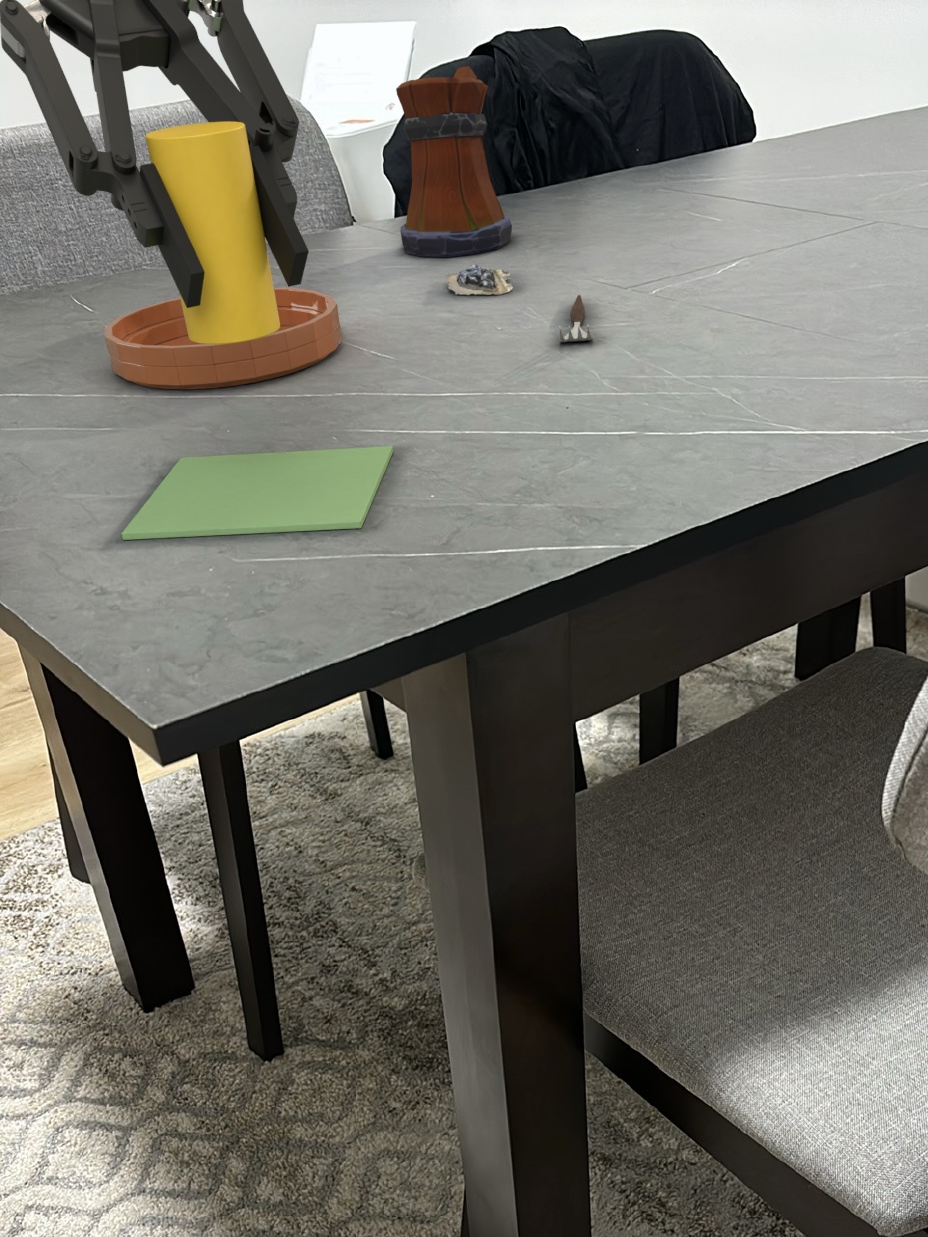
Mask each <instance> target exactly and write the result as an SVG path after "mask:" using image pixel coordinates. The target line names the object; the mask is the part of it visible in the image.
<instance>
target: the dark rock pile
mask: <svg viewBox="0 0 928 1237" xmlns="http://www.w3.org/2000/svg"><path fill="white" fill-rule="evenodd" d="M510 275H511V273H510V272H509V271H505V270H504V269H491V268H488V267H486V268H482V267H481V266H480V265H478V264H477V263H476V264H470V265H469V266H466V267H464V268H463V269H462V270H461V271H459V272H458V273H457V272H455V273H452V274H451V273H448V274H446V275H445V281H446V282H448V283H446V285H447V288H448V289H449V290H451V291H452V292H454V295H467V296H470V295H486V296H489V295H490V296H492V295H493V296H499V295H503V294H506V293H509V292H511V290H513V289H514V287H513V286H512V283H511V282H509V283H508V282H507V281H508V280H510V279H511V277H509V276H510Z"/></svg>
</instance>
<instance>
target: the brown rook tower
mask: <svg viewBox="0 0 928 1237" xmlns="http://www.w3.org/2000/svg"><path fill="white" fill-rule="evenodd" d="M488 89H489V85H487V84H486V83H484V82H483V81H482V80H481V79H478V76H477V75H476V74H475V72H474V71H473V70H472V68H471V66H462V67H458V68H457V69H456V71H455V73H454V75H453V77H445V76H444V77H443V76H440V77H439V76H437V77H436V76H435V77H423V78H422V77H421V78H416V79H410V80H407V81H404V82H402V83H400V84H399V85H398V86H397V87H396V88H395V92H396V96H397V98H398V101H399V103H400V105H401V109H402V111H403V114H404V117H405V120H404V125H403V131H404V133H405V135H406V137H407V139H408V141H410V152H411V154H410V155H411V157H410V158H411V189H410V196H409V202H408V208H407V213H406V220H405V223H404V224H403V225H401V226H400V231H399V232H400V238H401V244H402V247H403V250H404V252H405V253H406V254H407V255H412V256H413V255H414V256H417V257H428V258H453V257H461V256H468V255H476V254H480V253H485V252H489V251H490V252H491V251H494V250H495V251H496V250H498V249H500V248H501V247H504V246H505V245H507V244H508V243H509V242H510V240H511V237H512V234H513V225H512V221H511V219H510V217H509V215H508V214H507V213H504V211H503V208H502V206H501V203H500V201H499V199H498V196H497V195H496V192H495V189H494V187H493V184H492V180H491V177H490V172H489V168H488V163H487V157H486V152H485V148H484V142H483V138H482V137H484V135H485V134H486V130H487V127H488V122H487V118H486V116H485V114H483V113H482V111H483V107H484V102H485V98H486V95H487V92H488Z"/></svg>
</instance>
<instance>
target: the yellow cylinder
mask: <svg viewBox="0 0 928 1237" xmlns="http://www.w3.org/2000/svg"><path fill="white" fill-rule="evenodd" d="M144 138H145V143H146V147H147V151H148V155H149V160H150V164H151V163H154V165H155V166H156V168H157V170H158V173H159V175H160V177H161V179H162V181H163V183H164V185H165V188H166V190H167V192H168V194H169V196H170V198H171V200H172V203H173V205H174V207H175V209H176V211H177V213H178V216H179V218H180V220H181V222H182V224H183V226H184V228H185V231H186V233H187V235H188V237H189V239H190V241H191V243H192V246H193V248H194V250H195V252H196V254H197V256H198V258H199V261H200V263H201V265H202V267H203V269H204V271H205V274H204V281H203V288H202V295H201V303H200V306H195V307H190V308H187V307H186V305H185V303H184V301H183V299H182V297H181V294H180V292H179V291H178V294H179V298H180V299H181V304H182V308H183V313H184V318H185V322H186V327H187V331H188V336H189V339H190V340H191V341H193V342H196V343H201V344H230V343H238V342H244V341H250V340H254V339H258V338H261V337H264V336H267V335H270V334H272V333H274V332H275V331H277V330H278V329H279V328H280V321H279V315H278V309H277V304H276V298H275V292H274V288H275V287H274V281H273V276H272V271H271V264H270V259H269V254H268V247H267V240H266V238H265V236H264V230H263V224H262V219H261V213H260V207H259V202H258V196H257V190H256V185H255V179H254V173H253V168H252V162H251V156H250V151H249V145H248V139H247V134H246V128H245V124H244V123H241V122H208V121H207V122H199V123H190V124H181V125H177V126H176V125H175V126H170V127H165V128H160V129H157V130H153V131H150V132H148V133H146V134H145V135H144Z"/></svg>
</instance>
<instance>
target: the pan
mask: <svg viewBox="0 0 928 1237" xmlns="http://www.w3.org/2000/svg"><path fill="white" fill-rule="evenodd" d="M274 292H275V298H276V304H277V309H278V315H279V321H280V328H279V329H278V330H277V331H275V332H274V333H272V334H270V335H267V336H264V337H261V338H258V339H254V340H250V341H244V342H238V343H230V344H201V343H196V342H193V341H191V340H190V339H189V336H188V331H187V327H186V322H185V318H184V313H183V308H182V304H181V299H180V297H177V298H172V299H166V300H162V301H159V302H156V303H153V304H149V305H145V306H143V307H139V308H136V309H133V310H131V311H130V312H127V313H125V314H122V315H120V316H119V317H116V318H115V319H113V320H112V321H111V322H110V323H109V324H107V325H106V326H105V327H104V340H105V343H106V347H107V348H106V349H107V352H108V356H109V360H110V365H111V367H112V370H113V373H114V374H116V375H117V376H119V377H121V378H122V379H124V380H126V381H130V382H131V383H134V384H136V385H139V386H143V387H148V388H154V389H163V390H206V389H216V388H225V387H226V388H227V387H234V386H241V385H247V384H252V383H258V382H264V381H267V380H272V379H276V378H279V377H284V376H287V375H290V374H293V373H296V372H299V371H302V370H305V369H308V368H309V367H312V366H313V365H316V364H318V363H319V362H321V361H323V360H324V359H325V358H327V357H328V356H329V355H330V354H331V353H332V352H334V351H335V350H337V348H338V347H339V345H340V344H341V342H342V340H343V336H342V335H343V334H342V328H341V323H340V314H339V308H338V303H337V302H336V301H335V298H334V297H333V296H332V295H329V294H326V293H324V292H321V291H318V290H313V289H305V288H297V287H274Z"/></svg>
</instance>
